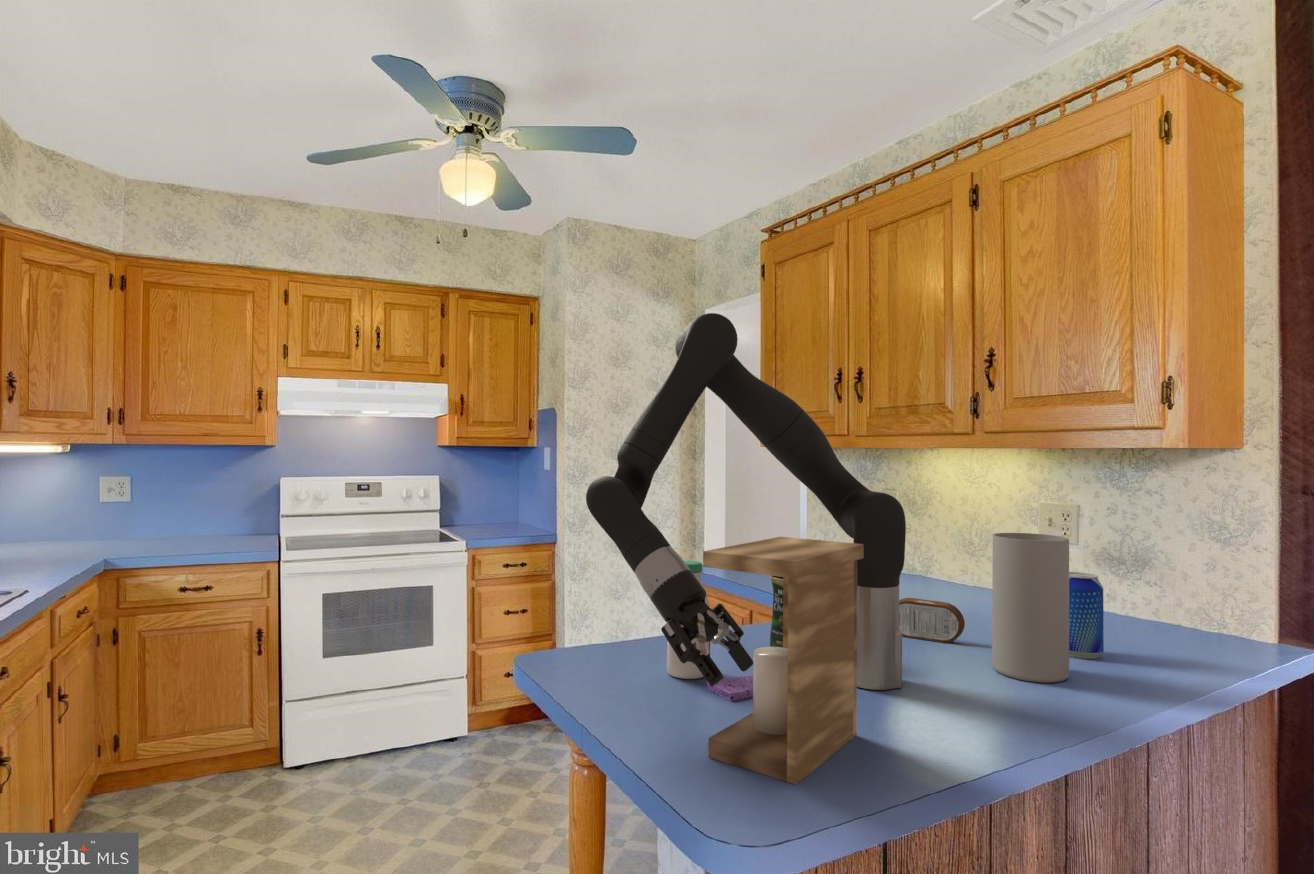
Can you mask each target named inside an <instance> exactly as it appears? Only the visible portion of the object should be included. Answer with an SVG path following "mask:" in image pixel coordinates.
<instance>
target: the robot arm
mask: <svg viewBox="0 0 1314 874" xmlns="http://www.w3.org/2000/svg"><path fill="white" fill-rule="evenodd" d="M737 332H738V331H737V330H736V328H735V325H734V323H733V322H732V321H731V320H730V319H729V318H728V317H726V316H724V315H723V314H720V313H714V312H710V313H705V314H704V313H703V314H701V315H699V316H697V317H695V318H694V319H692V320H691V321H690V322H689V323H688V324H687V325H686V326H685V327H684V328H683V329H682V330H681V331H680V332H679V333H678V335H677V337H676V341H675V344H674V345H675V354H676V357H677V360H676V361H675V363H674V365H673V368H672V369H671V371H670V373H668V376H667V378H666V379H665V380H664V382H663V384H662V385H661V386H660V388H659V390H658V391H657V392H656V394H655V395H654V396H653V398H652V399H651V400H650V402H649V403H648V405H647V406H646V407H645V408H644V410H643V411H642V413H641V414H640V415H639V417H638V418H637V420H636V422H635V423H634V424H633V426H632V428H631V429H630V431H629V433H628V435H627V436H626V437H625V440H624V441H623V443H622V444H621V446H620V448H619V449H618V452H617V456H616V457H617V458H616V460H617V465H618V466H617V470H616V472H615V474H614V476H610V475H609V476H608V475H606V476H605V475H604V476H601V477H598V478H596V479H594V480H593V481H592V482H591V483H590V484H589V486H588V488H587V491H586V494H585V501H586V506H587V507H586V508H587V509H588V510H589V513H590V514H591V516H592V517H593V519H594V520H595V521H596V522H597V524H598V525H599V526H600V528H602V530H603V531H604V532H605V534H607V536H608V537H609V538H610V539H611V540H612V541H613V542H614V544H615V545H616V547H617V548H618V550H619V552H620V554H621V555H622V557H623V559H624V560H625V561H626V563H627V564H628V566H629V567H630V569H631V571H632V572H633V573H634V575H635V577H636V579H637V580H638V582H639V585H640V586H641V588H642V589H643V591H644V592H645V594H646V595H647V596H648V598H649V599H650V601H651V602H652V604H653V605H654V607H655V609H656V610H657V612H658V613H659V614H660V616H661V617H662V619H663V621H664V622H666V623H665V624H664V625H663V626H662V627H661V628H660V630H661V632H662V634H663V635H664V637H665V639H666V640H668V642H669V644H670V645H671V647H672V648H673V650H674V652H675V653H676V655H677V656H678V658H679V660H680V661H681V662H682V663H686V662H691V663H692V664H694V665H696V666H697V667H698V669H699V670H700V672H701V673H702V675H703V676H704V677H703V678H704V679H705V680H706V682H707V681H708V682H709V684H710V685H711V686H714V685H716V684H717V683H718V682H719V681H720V680H721V679H724V678H723V677H724V675H723V673H722V671H721V670H720V669H719V667H718V666H717V665H716V663H715V661H714V660H713V658H712V657H711V655H710V656H709V654H708V655H706V648H705V642H709V641H710V643H712V644H713V645H719V646H721V647H723V648H724V649H726V650H727V653H728V654H729V655H730V657H731V659H732V660H733V661H734V662H735V664H736V665H737V667H738V668H739V670H740V671H741V672H746V671H748V670H749V669H750V668H751V667H752V666H753V658H751V656H750V654H749V653H748V652H747V650H746V649H745V648H744V646H743V644H742V643H741V638H742V637H743V636H744V631H743V630H742V628H741V627H740V625H739V623H737V622H736V620H735V619H734V618H733V617H732V615H731V614H730V613H729V611H728V610H727V609H726V608H725V606H724V605H723V604H722V603H718V604H716V605H715V606H714V607H713V608H711V607H710V605H709V606H708V605H707V604H706V603H705V597H706V596H707V591H706V589H705V588H704V586H703V584H702V585H701V584H700V583H699V581H698V580H697V578H696V577H695V576H694V574H693V573H692V572H691V570H690V569H689V567H688V566H687V565H686V563H685V562H684V561H685V560H684V559H683V558H682V556H681V555H680V554H679V553H677V551H675V549H674V548H673V546H672V545H671V544H670V542H668V540H667V539H666V537H665V536H664V534H663V533H662V532H661V531H660V529H659V528H658V527H657V526H656V525H655V523H653V522H652V521H651V520H650V519H649V518H648V517H647V515H646V513H644V510H643V509H642V508H643V506H644V503H645V500H646V498H647V495H648V492H649V490H650V487H651V484H652V481H653V478H654V475H655V473H656V472H657V470H658V469H659V466H660V465H661V464H662V462H663V460H664V459H665V457H666V455H667V453H668V452H669V450H670V448H671V446H672V445H673V443H674V441H675V439H676V437H677V436H678V434H679V432H680V431H681V429H682V427H683V425H684V424H685V421H686V420H687V418H688V416H689V415H690V413H691V411H692V409H693V408H694V406H695V404H696V403H697V401H698V400H699V398H700V397H701V395H702V394H703V392H704V391H705V389H706V388H707V389H709V390H710V391H711V392H712V393H714V395H716V396H717V397H718V398H719V399H720V400H721V401H723V403H724V404H725V405H726V406H727V407H728V409H730V411H732V413H733V414H734V415H735V416H736V418H738V420H740V422H741V423H742V424H743V425H744V426H745V427H746V428H747V429H748V430H749V431H750V432H751V433H752V434H753V435H754V436H755V437H756V439H757V440H758V441H759V442H760V443H761V444H762V445H763V446H764V447H765V448H766V449H767V451H769V452H770V453H771V455H773V457H774V458H775V459H776V460H777V461H778V462H779V463H781V464H782V465H783V466H784V467H785V468H786V469H787V470H788V471H789V472H790V474H792V475H793V477H795V478H796V479H797V480H798V481H800V482H801V483H802V484H803V485H804V486H805V487H806V488H808V489H809V490H810V491H811V492H812V493H813V494H814V496H816V498H818V500H819V501H820V502H821V504H822V505H823V506H824V507H825V509H826V510H827V511H828V512H829V513H830V515H831V516H832V517H833V519H834V520H835V522H836V523H837V524H838V526H839V527H840V528H841V529H842V531H843V532H845V534H846V535H847V536H848V537H850V538H852V539H853V543H857V544H864V558H862V559H859V560H857V688H859V689H860V688H862V689H866V690H874V691H876V690H877V691H886V690H891V689H902V688H903V635H902V632H901V631H900V629H899V600H900V579H901V578H900V577H901V574H902V573H903V569H904V566H905V556H906V539H907V537H906V535H907V533H906V532H907V527H906V526H907V524H906V523H907V522H906V515H905V511H904V508H903V506H902V504H901V502H900V501H899V500H898V499H897V498H896V497H895V496H893V495H890V494H888V493H885V492H881V491H872V490H870V489H869V488H868V487H867V486H865V485H863V484H862V482H860V481H859V480H858V479H857V478H856V477H854V476H853V474H851V473H850V472H849V471H848V470H847V468H846V467H844V466H843V464H842V463H841V461H840V460H839V459H838V457H837V455H836V453H835V452H834V449H833V447H832V445H831V443H830V441H829V440H828V438H827V436H826V435H825V433H824V432H823V431H822V429H821V427H820V426H819V425H818V424H817V422H815V421H814V419H813V418H812V417H811V416H810V415H809V414H808V413H807V412H806V411H805V410H804V409H803V408H802V407H801V405H799V404H798V403H797V402H796V401H794V400H793V399H792V398H791V397H789V396H788V395H786V394H785V393H783V392H781V391H779V390H778V389H776V388H775V387H773V386H772V385H770V384H768V383H767V382H765V381H763V380H761V379H760V378H758V377H757V376H755V375H754V374H753V373H751V371H750V370H749V369H747V368H746V367H745V366H744V364H742V362H741V361H740V360H739V358H737V357H736V356H735V353H736V350H737V347H738V341H739V339H738V333H737ZM702 586H703V587H702ZM730 627H731V628H732V630H731V629H730ZM682 643H683V644H684V646H685V650H686V651H685V652H684V651H683V650H682V648H681V644H682Z"/></svg>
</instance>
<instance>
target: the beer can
mask: <svg viewBox="0 0 1314 874" xmlns="http://www.w3.org/2000/svg"><path fill="white" fill-rule="evenodd" d="M1104 611H1105V610H1104V586H1103V585H1102V583H1101V581H1100V580H1099V576H1098V575H1096V574H1093V573H1089V572H1088V573H1086V572H1081V571H1080V572H1078V571H1069V658H1070V657H1071V658H1074V659H1075V658H1077V659H1082V660H1095V659H1098V658H1100V655H1101V654H1102V653H1104V644H1105V642H1104V638H1105V637H1104V634H1105V633H1104V631H1105V630H1104V628H1105V627H1104V623H1105V622H1104V621H1105V619H1104V615H1105V613H1104Z"/></svg>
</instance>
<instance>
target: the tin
mask: <svg viewBox="0 0 1314 874" xmlns="http://www.w3.org/2000/svg"><path fill="white" fill-rule="evenodd" d="M899 629H900V631H901V632H902V637H906V638H910V639H917V640H923V641H930V642H936V643H941V644H942V643H946V644H947V643H953V641H956V640H957V639H959V638H960V636H961V635H962V634H963V632H964V630H965V618H964V616H963V613H962V611H960V609H958V607H957V606H955V605H953V604H951V603H949V602H946V601H937V600H931V599H922V598H916V597H915V598H914V597H904V598H902V599H899Z"/></svg>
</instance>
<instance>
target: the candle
mask: <svg viewBox="0 0 1314 874" xmlns="http://www.w3.org/2000/svg"><path fill="white" fill-rule="evenodd" d="M752 655H753V658H752V660H753V665H752V666H753V667H752V669H753V670H752V673H753V697H752V713H753V727H754V728H755V729H756V730H758V731H760V732H763V733H767V734H773V735H785V734H787V705H788V648H782V647H770V646H762V647H758V648H756V649H755V648H754V650H753V653H752Z"/></svg>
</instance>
